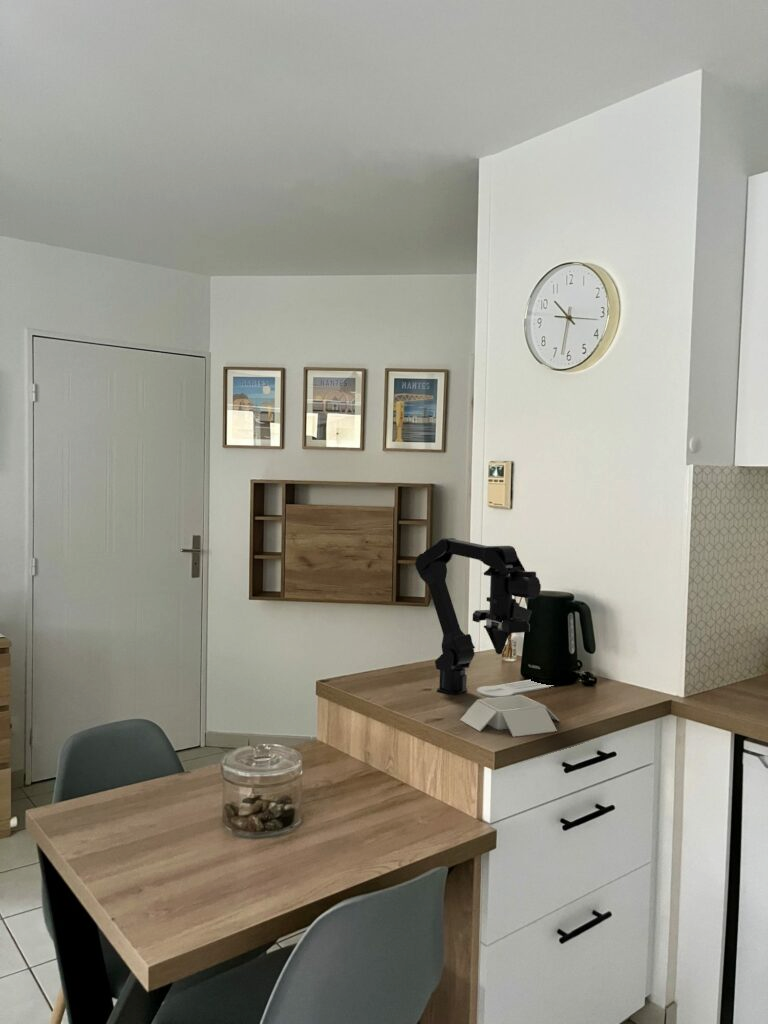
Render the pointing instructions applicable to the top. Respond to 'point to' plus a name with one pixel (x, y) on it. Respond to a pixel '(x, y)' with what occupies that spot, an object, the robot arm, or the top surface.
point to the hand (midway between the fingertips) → (499, 654)
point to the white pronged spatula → (511, 688)
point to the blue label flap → (529, 721)
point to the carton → (507, 708)
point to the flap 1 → (478, 716)
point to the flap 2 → (551, 714)
